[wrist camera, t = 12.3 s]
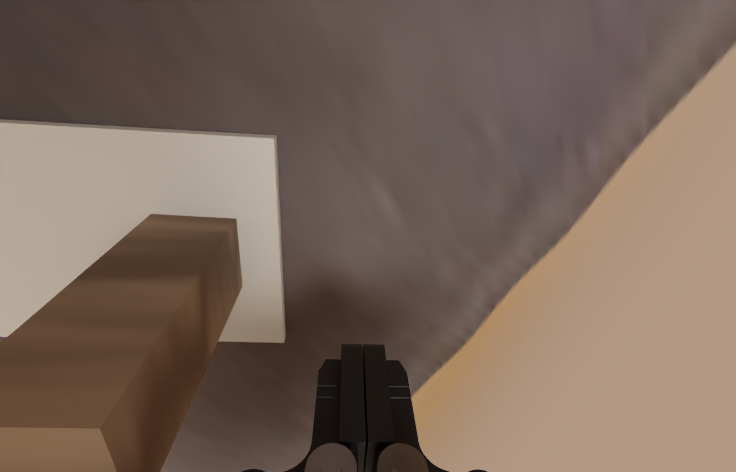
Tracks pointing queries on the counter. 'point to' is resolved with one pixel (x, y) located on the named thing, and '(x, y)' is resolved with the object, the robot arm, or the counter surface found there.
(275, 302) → the mat
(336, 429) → the robot arm
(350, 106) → the counter surface
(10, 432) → the block
